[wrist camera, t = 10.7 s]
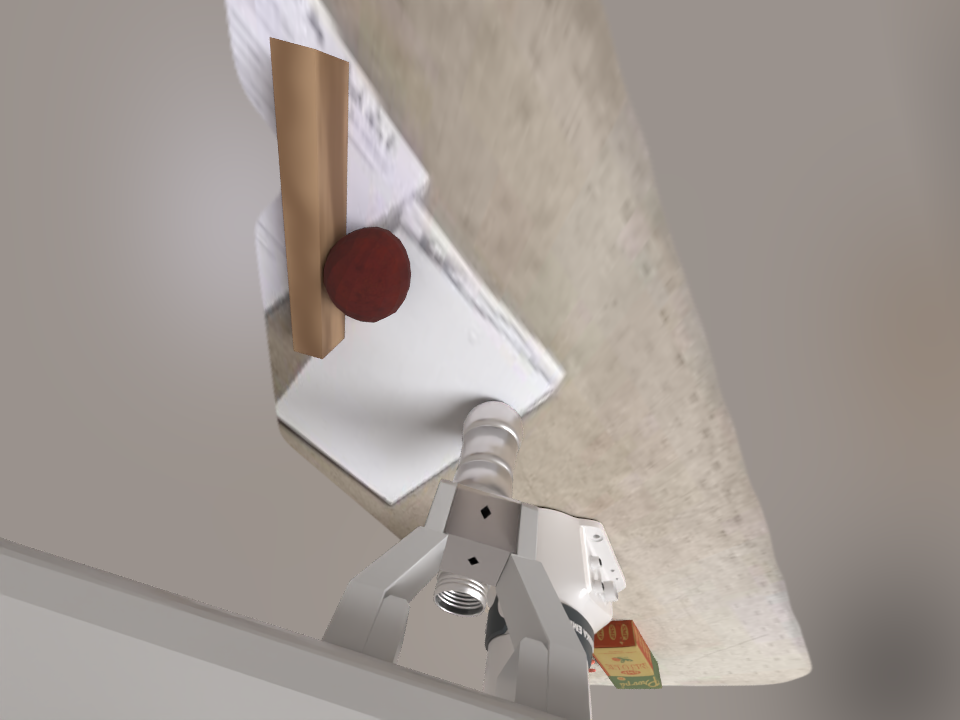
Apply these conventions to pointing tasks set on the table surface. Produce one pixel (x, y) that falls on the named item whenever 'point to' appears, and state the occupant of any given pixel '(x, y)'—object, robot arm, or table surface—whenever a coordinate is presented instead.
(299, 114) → the board
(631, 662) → the carton
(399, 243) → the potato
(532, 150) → the table surface
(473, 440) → the plastic bottle
